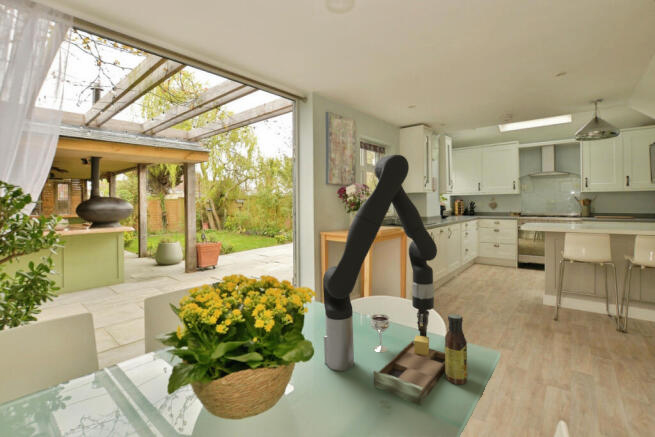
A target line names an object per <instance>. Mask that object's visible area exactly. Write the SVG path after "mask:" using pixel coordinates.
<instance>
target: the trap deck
mask: <svg viewBox="0 0 655 437" xmlns="http://www.w3.org/2000/svg"><path fill="white" fill-rule="evenodd" d="M372 374H373V377H372V378H373V387H375V388H378V389H380V390H382V391H385V392H387V393H389V394H391V395H394V396H396V397H399V398H401V399H403V400H405V401H408V402H410V403H412V404H415V405H417V406H422V405H423V403H424V401H426V398H427V397H428V395H429V394H431V392H432V390H433V389H434V388H435V386H436V385H437V383H438V382H439V381H440V379H441V378H442V377H443V375H444V374H445V352H443V351H439V350H435V349H432V348H430V347H429V353H428V356H427V355H422V354H416V353H414V340H411V341H410V343H408V344H407V345H406V346H405V347H404V348H403V349H402V350H401V351H400V352H398V353H397V355H394V357H393V358H392V359H391V360H390V361H389V362H387V364H385V365H384V366H383V367H382V368H381V369H380V370H379V371H376V370H374V371H373V373H372Z"/></svg>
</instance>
